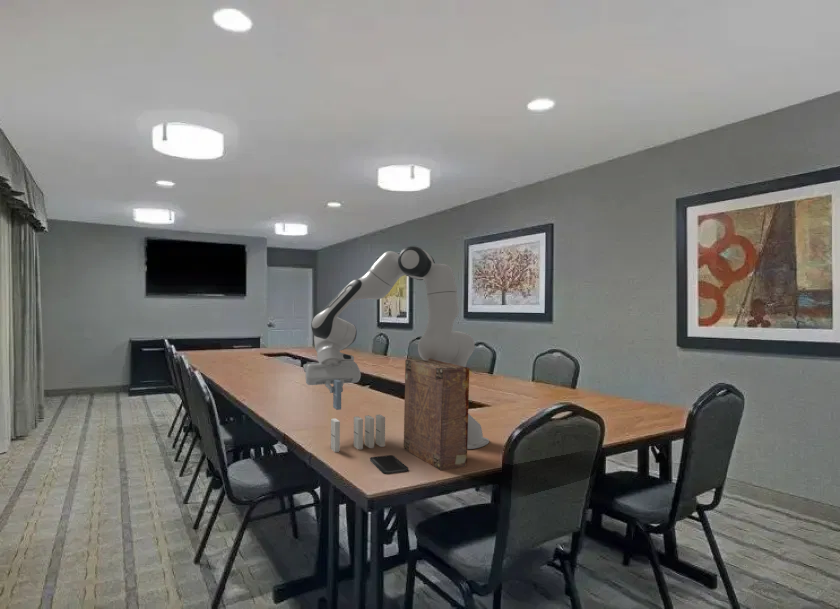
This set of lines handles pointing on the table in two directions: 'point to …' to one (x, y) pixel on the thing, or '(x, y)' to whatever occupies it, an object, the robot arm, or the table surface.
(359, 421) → the domino
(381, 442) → the domino
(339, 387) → the domino
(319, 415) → the table surface
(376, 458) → the phone
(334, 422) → the domino
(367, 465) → the table surface
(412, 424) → the book
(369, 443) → the domino
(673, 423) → the table surface
